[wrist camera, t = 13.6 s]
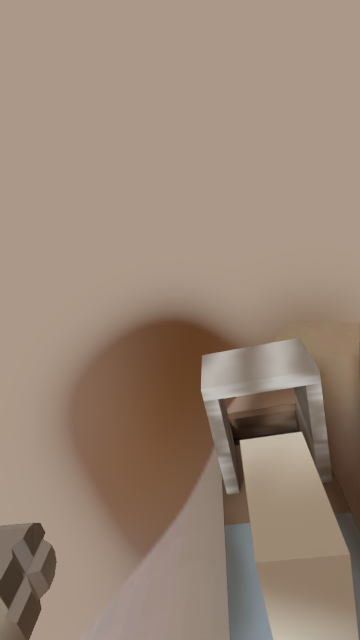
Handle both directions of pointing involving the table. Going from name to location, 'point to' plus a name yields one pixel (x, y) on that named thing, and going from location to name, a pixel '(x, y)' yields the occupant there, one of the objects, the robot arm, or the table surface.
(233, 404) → the table surface
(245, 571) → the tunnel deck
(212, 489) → the table surface
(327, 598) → the cream block
